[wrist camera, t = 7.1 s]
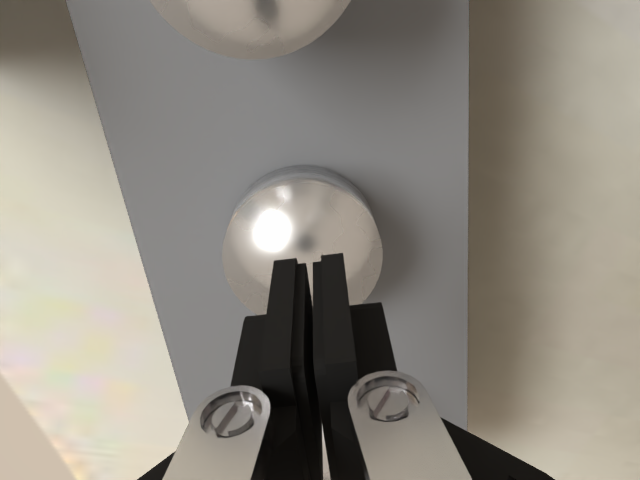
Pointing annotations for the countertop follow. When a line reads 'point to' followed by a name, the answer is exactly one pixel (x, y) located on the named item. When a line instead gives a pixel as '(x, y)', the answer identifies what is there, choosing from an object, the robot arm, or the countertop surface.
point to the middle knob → (300, 232)
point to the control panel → (289, 150)
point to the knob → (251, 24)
